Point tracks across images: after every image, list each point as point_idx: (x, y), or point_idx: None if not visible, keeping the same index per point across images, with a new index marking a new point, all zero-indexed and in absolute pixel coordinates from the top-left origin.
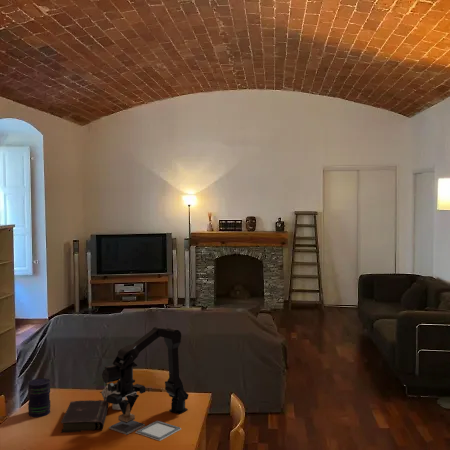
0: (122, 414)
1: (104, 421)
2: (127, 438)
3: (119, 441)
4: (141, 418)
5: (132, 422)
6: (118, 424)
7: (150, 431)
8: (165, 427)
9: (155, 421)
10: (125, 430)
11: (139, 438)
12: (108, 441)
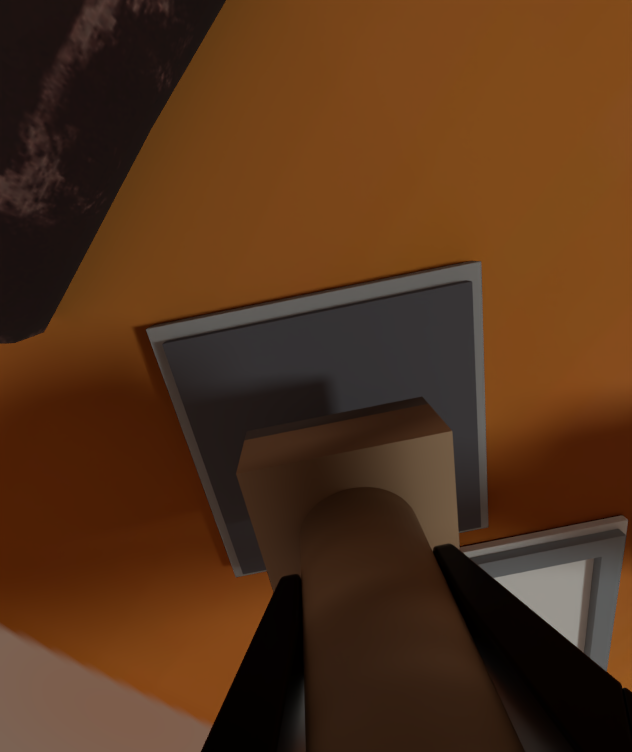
0: (331, 466)
1: (150, 128)
2: (203, 615)
3: (117, 621)
4: (606, 349)
5: None
6: (272, 372)
7: None
8: None
9: (597, 541)
10: (247, 545)
11: None
12: (26, 573)
